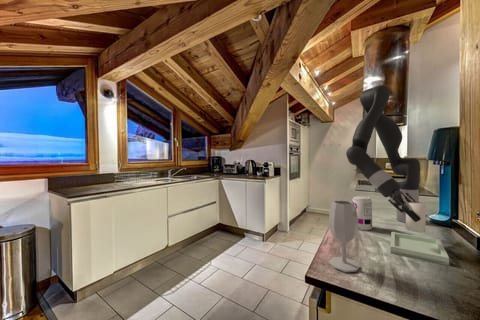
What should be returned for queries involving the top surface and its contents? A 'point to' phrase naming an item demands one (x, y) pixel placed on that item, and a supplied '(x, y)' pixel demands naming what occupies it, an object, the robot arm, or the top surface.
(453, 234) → the top surface
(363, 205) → the supplement can
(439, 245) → the tray
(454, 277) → the top surface
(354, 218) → the wineglass
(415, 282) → the top surface
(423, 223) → the white domed cylinder
